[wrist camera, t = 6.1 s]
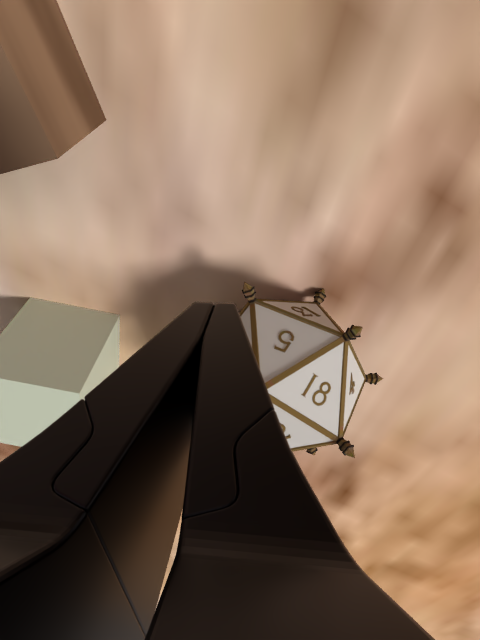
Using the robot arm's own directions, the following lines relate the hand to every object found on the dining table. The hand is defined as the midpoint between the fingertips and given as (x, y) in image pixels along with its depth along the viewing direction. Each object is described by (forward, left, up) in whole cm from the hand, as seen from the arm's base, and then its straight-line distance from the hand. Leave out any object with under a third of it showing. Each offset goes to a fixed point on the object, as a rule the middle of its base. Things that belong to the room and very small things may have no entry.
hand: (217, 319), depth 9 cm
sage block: (+10, +11, -12) cm, 20 cm away
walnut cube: (+9, -3, -12) cm, 16 cm away
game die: (-2, +9, -12) cm, 16 cm away
